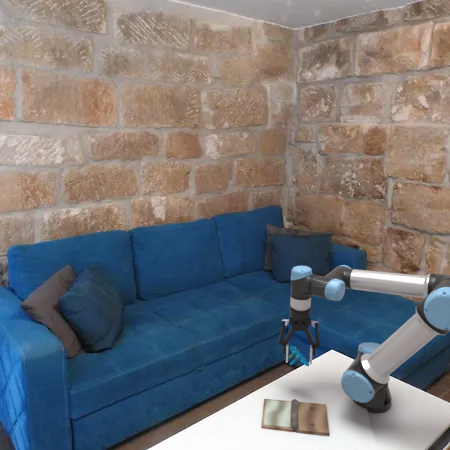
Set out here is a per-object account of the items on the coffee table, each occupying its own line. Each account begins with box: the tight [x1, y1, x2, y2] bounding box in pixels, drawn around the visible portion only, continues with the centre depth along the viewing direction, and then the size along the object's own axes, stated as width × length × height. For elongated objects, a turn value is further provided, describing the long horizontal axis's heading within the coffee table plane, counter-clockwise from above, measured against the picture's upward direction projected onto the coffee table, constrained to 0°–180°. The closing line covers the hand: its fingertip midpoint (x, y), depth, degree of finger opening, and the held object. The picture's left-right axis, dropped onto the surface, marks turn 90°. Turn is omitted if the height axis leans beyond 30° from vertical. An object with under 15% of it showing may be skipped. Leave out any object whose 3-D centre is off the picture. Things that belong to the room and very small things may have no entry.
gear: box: [288, 344, 311, 367], centre depth 167 cm, size 11×6×10 cm
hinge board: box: [261, 398, 330, 437], centre depth 157 cm, size 23×16×2 cm
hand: (298, 361), depth 168 cm, fingers closed on gear, 8 cm apart
